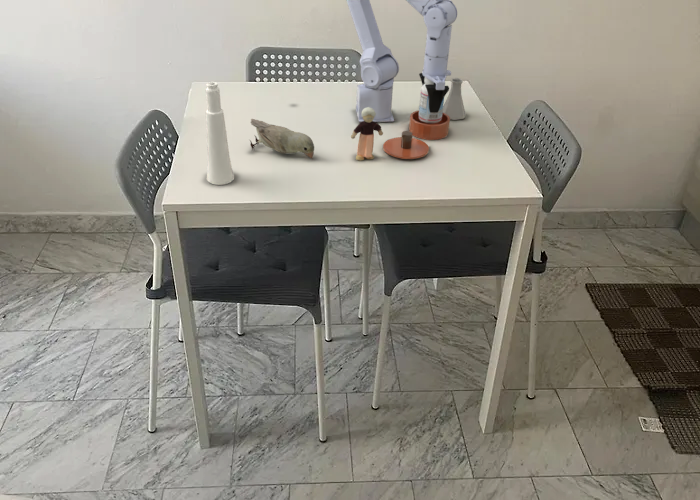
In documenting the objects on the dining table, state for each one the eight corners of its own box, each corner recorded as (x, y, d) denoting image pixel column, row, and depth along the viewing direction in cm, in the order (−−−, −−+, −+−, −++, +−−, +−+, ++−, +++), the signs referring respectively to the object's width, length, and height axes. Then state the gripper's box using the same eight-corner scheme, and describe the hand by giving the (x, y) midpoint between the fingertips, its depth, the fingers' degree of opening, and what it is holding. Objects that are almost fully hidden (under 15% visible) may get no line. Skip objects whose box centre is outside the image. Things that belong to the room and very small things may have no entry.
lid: (386, 161, 158) (387, 143, 155) (379, 141, 167) (380, 123, 164) (432, 160, 159) (434, 142, 156) (423, 140, 168) (425, 123, 165)
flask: (467, 121, 179) (472, 85, 173) (440, 120, 179) (444, 84, 173) (464, 110, 185) (468, 75, 179) (438, 109, 185) (441, 74, 179)
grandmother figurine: (356, 163, 157) (358, 113, 149) (348, 156, 159) (350, 106, 152) (384, 157, 160) (387, 107, 152) (376, 151, 162) (379, 101, 155)
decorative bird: (309, 163, 156) (309, 134, 152) (247, 152, 160) (245, 123, 155) (317, 154, 160) (317, 125, 156) (256, 143, 164) (255, 114, 160)
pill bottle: (444, 116, 173) (448, 74, 166) (438, 125, 168) (443, 82, 161) (421, 113, 174) (425, 71, 168) (415, 121, 169) (419, 79, 163)
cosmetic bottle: (237, 182, 147) (229, 87, 135) (209, 186, 145) (199, 90, 133) (231, 170, 152) (223, 77, 139) (204, 174, 150) (194, 79, 137)
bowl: (412, 140, 168) (414, 125, 166) (405, 123, 176) (407, 109, 174) (452, 139, 169) (454, 125, 167) (443, 123, 177) (445, 109, 175)
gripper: (460, 63, 156) (453, 118, 163) (446, 44, 168) (440, 95, 175) (430, 64, 155) (425, 118, 163) (418, 44, 167) (414, 96, 175)
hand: (431, 106), depth 169 cm, fingers closed on pill bottle, 6 cm apart
